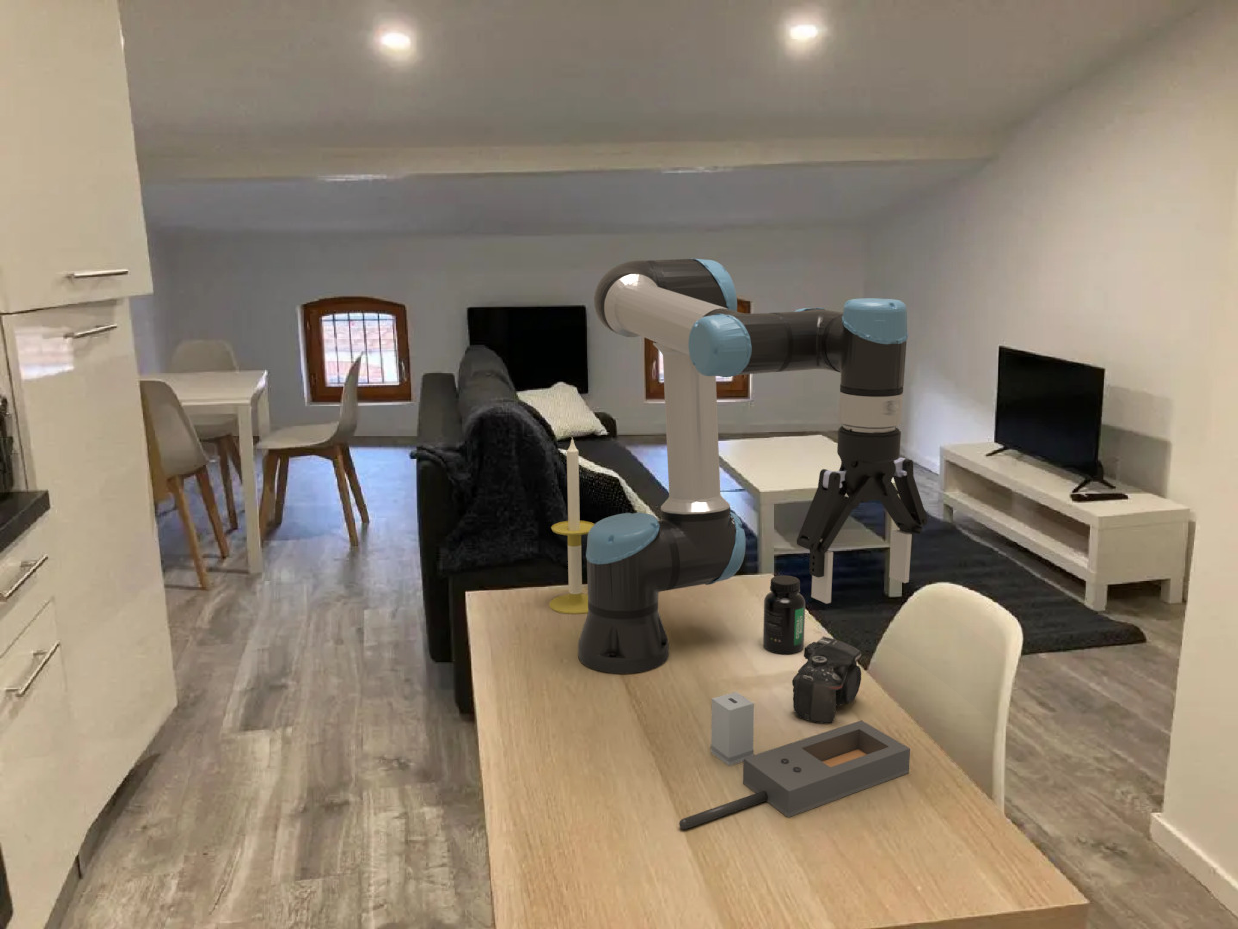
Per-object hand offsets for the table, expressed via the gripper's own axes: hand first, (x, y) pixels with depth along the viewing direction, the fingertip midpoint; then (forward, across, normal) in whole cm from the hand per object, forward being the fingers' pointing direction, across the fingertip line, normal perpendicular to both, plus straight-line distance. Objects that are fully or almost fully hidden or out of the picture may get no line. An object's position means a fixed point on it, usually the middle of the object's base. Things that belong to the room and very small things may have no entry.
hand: (860, 589), depth 129 cm
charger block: (+24, -13, +10) cm, 29 cm away
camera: (+24, +8, +14) cm, 30 cm away
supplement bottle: (+25, +17, +34) cm, 45 cm away
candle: (+25, -3, +70) cm, 75 cm away
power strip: (+24, -12, -1) cm, 27 cm away
